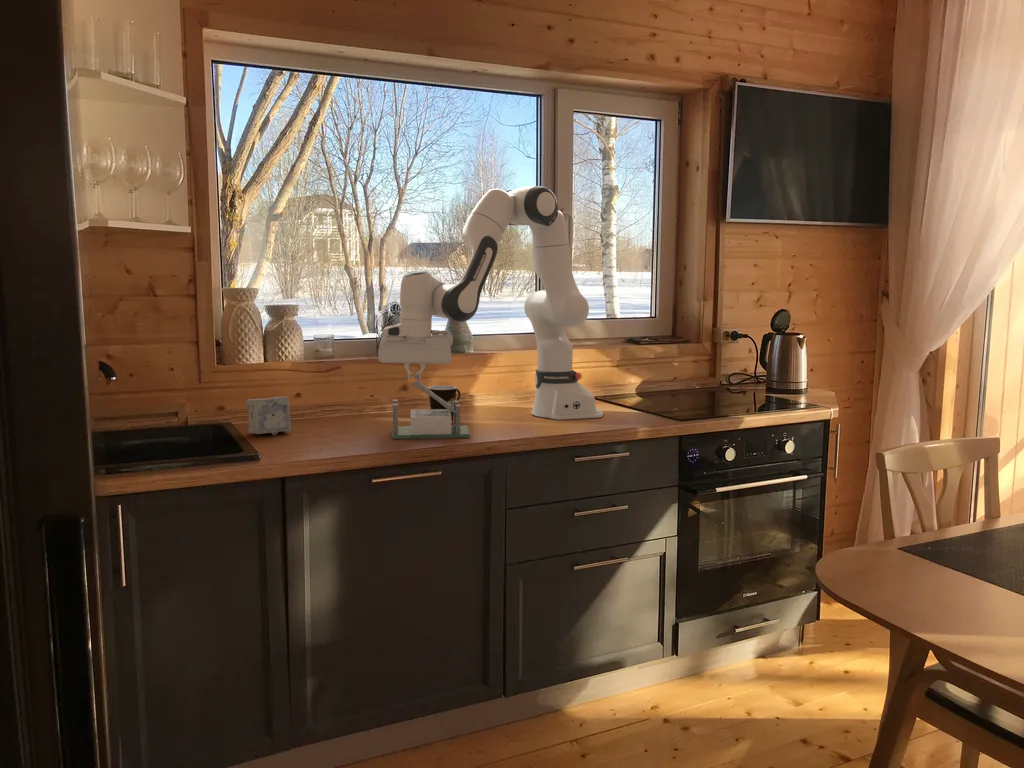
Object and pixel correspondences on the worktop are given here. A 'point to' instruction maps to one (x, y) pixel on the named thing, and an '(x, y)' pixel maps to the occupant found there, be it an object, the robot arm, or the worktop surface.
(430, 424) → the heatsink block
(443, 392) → the coffee mug
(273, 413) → the incense holder
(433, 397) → the strap
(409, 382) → the silver flat bar
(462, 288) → the robot arm
